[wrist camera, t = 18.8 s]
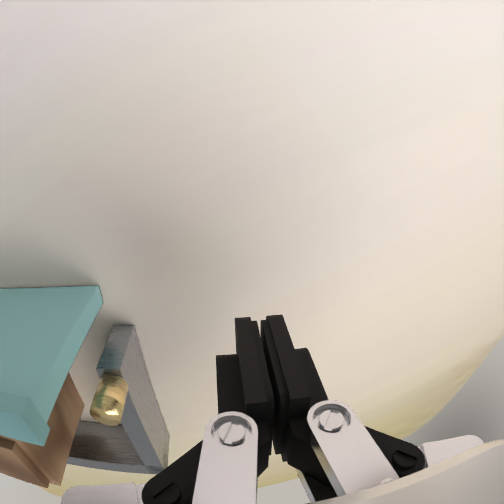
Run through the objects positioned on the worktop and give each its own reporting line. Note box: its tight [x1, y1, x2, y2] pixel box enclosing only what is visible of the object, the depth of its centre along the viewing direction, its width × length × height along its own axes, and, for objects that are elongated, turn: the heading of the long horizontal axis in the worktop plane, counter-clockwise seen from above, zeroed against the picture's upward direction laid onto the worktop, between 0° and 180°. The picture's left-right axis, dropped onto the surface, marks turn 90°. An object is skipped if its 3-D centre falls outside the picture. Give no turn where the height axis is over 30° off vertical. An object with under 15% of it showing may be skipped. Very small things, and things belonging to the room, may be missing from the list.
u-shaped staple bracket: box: [67, 325, 170, 474], centre depth 14 cm, size 10×17×6 cm, turn 91°
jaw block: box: [0, 372, 84, 488], centre depth 13 cm, size 5×5×8 cm
